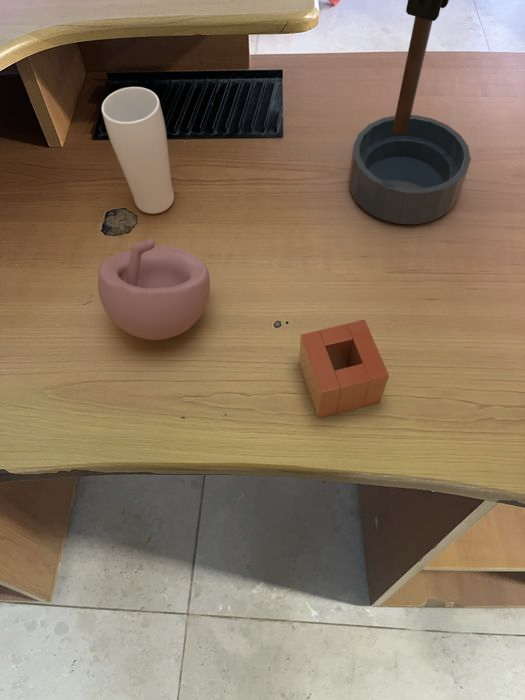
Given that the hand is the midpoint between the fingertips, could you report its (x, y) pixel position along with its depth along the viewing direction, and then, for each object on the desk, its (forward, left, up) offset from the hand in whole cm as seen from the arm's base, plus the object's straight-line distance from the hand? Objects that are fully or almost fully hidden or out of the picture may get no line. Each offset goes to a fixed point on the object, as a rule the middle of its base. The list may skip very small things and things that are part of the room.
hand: (426, 8), depth 57 cm
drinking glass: (+31, -7, -24) cm, 40 cm away
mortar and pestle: (+33, +12, -24) cm, 43 cm away
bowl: (-2, 0, -24) cm, 24 cm away
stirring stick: (0, 0, -15) cm, 15 cm away
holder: (+16, +26, -24) cm, 39 cm away
